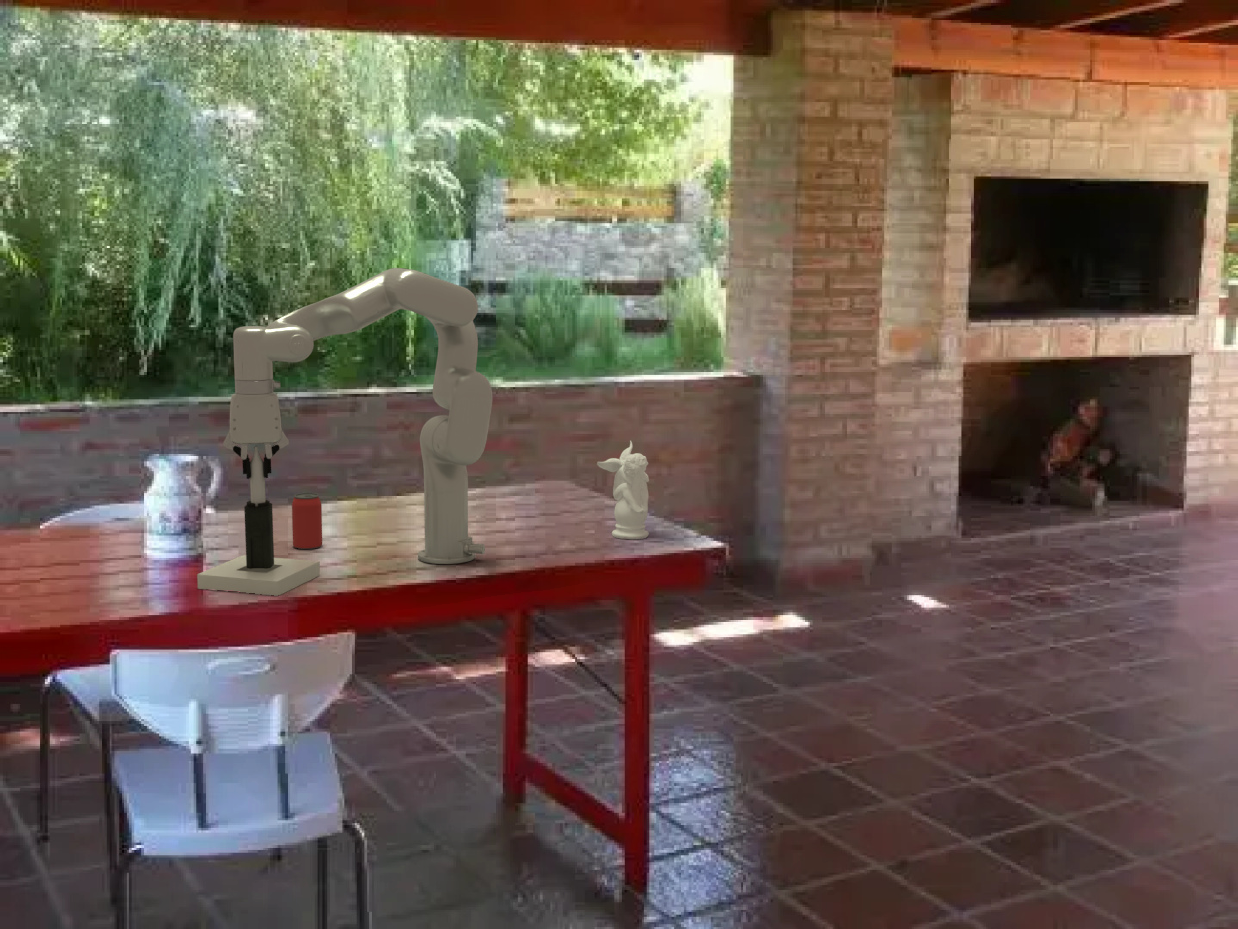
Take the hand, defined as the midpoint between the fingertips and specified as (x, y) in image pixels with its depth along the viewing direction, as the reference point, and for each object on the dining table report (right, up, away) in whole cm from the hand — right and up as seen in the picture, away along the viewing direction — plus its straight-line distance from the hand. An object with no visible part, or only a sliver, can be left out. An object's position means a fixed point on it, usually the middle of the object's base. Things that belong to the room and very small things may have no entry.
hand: (257, 476), depth 319 cm
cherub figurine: (+75, -15, +51) cm, 91 cm away
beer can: (+3, -16, +36) cm, 39 cm away
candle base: (0, -22, +4) cm, 22 cm away
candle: (0, -19, +3) cm, 19 cm away
